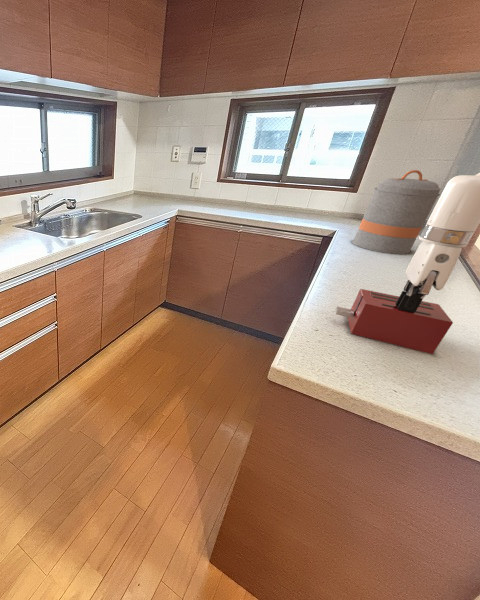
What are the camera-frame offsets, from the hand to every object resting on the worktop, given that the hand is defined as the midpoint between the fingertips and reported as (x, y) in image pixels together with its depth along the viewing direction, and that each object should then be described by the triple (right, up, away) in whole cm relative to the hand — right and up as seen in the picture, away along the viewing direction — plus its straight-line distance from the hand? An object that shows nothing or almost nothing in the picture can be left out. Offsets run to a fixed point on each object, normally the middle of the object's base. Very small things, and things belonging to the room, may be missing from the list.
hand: (404, 308), depth 79 cm
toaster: (+2, -7, +7) cm, 10 cm away
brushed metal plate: (-7, -2, +10) cm, 12 cm away
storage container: (+67, +28, +79) cm, 108 cm away
